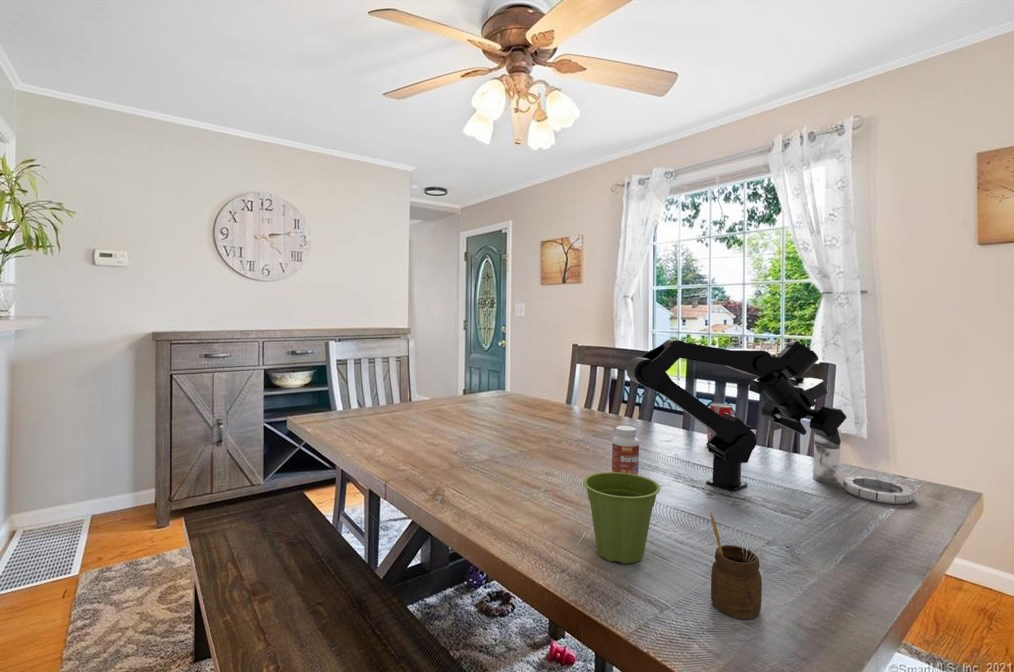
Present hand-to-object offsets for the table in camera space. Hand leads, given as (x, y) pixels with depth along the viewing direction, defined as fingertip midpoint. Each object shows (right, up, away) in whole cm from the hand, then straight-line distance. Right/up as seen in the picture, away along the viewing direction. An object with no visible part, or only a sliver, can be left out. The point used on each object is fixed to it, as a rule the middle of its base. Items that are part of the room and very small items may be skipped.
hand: (821, 438), depth 110 cm
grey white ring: (+7, -10, -8) cm, 15 cm away
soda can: (-10, -9, +30) cm, 33 cm away
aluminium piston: (+2, -10, +1) cm, 10 cm away
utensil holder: (-43, -12, -48) cm, 65 cm away
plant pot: (-55, -11, -34) cm, 65 cm away
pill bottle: (-44, -9, +4) cm, 46 cm away
